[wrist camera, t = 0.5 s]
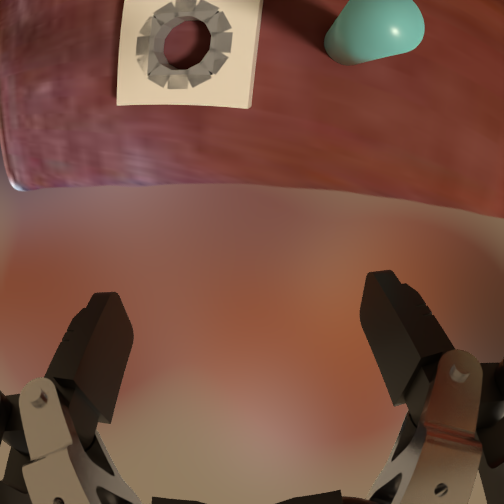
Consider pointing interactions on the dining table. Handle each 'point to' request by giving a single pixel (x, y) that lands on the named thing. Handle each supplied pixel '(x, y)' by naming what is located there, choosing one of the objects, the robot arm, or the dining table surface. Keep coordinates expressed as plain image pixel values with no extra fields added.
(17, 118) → the dining table surface
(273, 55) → the dining table surface
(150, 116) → the dining table surface
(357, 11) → the pin
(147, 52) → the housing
